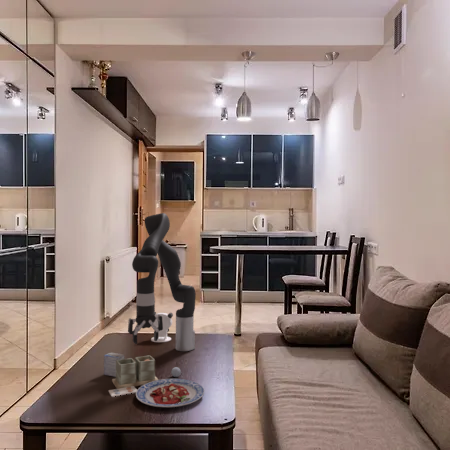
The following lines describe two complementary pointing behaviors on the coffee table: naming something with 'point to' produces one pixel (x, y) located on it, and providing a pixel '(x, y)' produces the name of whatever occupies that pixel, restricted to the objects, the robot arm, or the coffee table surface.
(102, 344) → the coffee table surface
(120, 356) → the medicine box
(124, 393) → the card
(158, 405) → the ceramic plate
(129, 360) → the tube stand
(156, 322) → the white bear shaped stand
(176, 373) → the grey ball
